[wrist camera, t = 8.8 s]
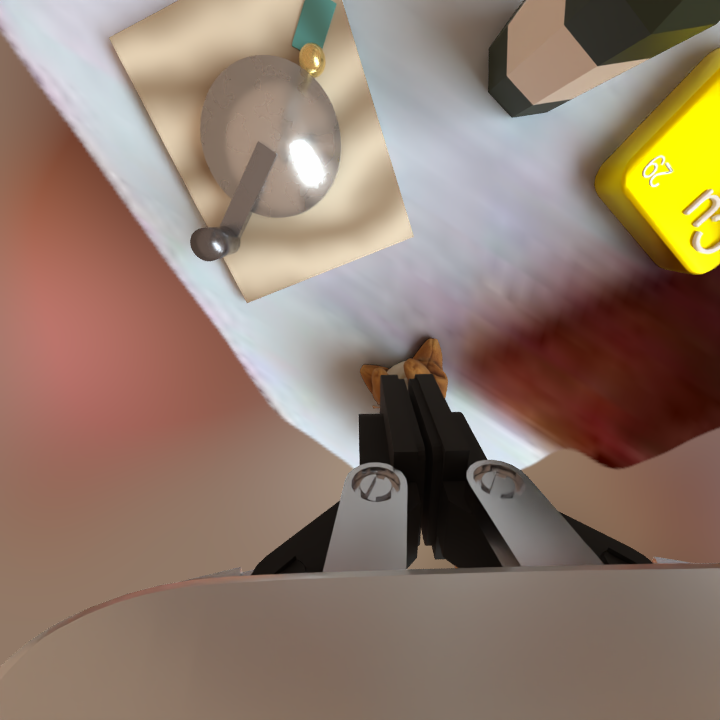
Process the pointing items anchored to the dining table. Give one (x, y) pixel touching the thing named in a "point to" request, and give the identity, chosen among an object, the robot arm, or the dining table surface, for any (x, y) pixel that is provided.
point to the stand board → (344, 89)
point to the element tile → (672, 176)
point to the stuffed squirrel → (409, 369)
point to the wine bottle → (583, 46)
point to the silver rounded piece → (267, 143)
